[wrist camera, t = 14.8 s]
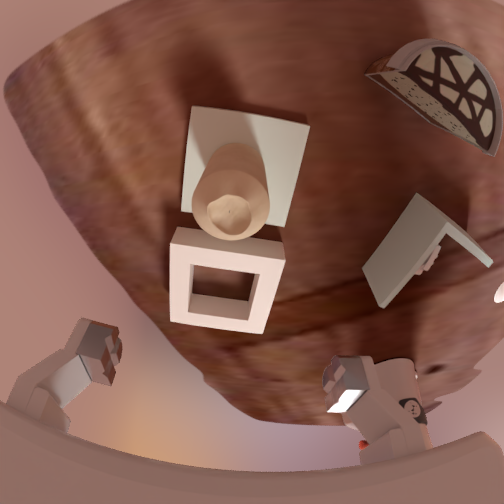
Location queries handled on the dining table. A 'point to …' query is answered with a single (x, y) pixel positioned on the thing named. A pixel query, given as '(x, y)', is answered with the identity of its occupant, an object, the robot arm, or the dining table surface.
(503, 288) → the champagne flute
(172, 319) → the pocket block
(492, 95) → the food container
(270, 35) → the dining table surface
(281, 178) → the cream tile
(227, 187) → the candle
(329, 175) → the dining table surface
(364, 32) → the dining table surface
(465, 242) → the l-shaped corner panel
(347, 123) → the dining table surface
